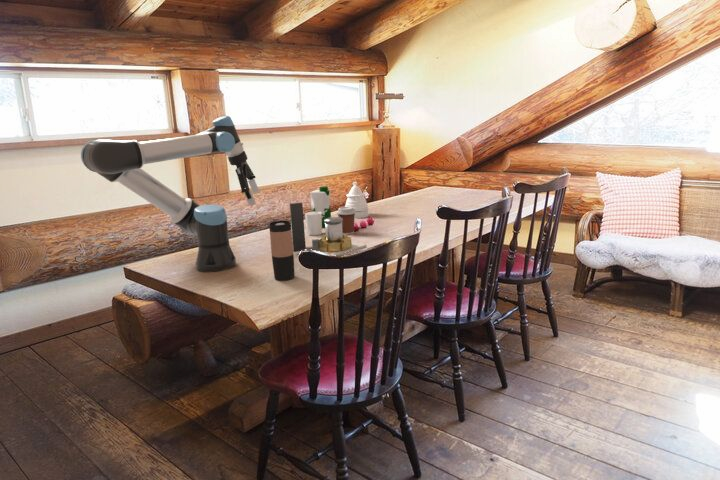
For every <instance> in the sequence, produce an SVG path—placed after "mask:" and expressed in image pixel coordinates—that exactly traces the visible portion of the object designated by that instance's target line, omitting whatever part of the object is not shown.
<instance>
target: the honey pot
mask: <svg viewBox="0 0 720 480" xmlns="http://www.w3.org/2000/svg"><path fill="white" fill-rule="evenodd" d="M352 185H353V186H352V187H351V189H350V190H349V192H348V193H346V195H345V196H346V197H347V199H346V201H345V205H344V207H353V209H354V210H355V211H356V213H355V216H354V219H362V218H368V216H369V205H368V202H367V199H366V196H365V193H364V192H363V191H362V190H361V188H360V187H359V186H358V182H357V181H354V182H352Z"/></svg>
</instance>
